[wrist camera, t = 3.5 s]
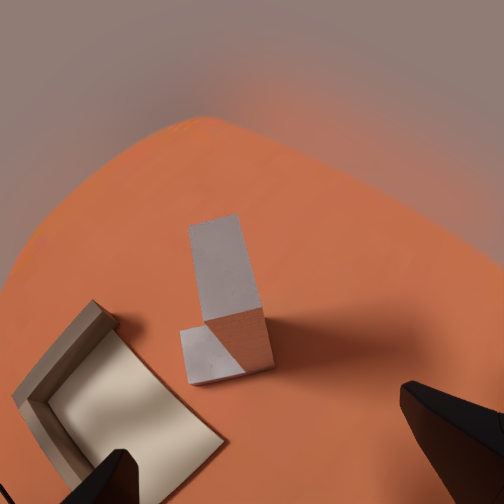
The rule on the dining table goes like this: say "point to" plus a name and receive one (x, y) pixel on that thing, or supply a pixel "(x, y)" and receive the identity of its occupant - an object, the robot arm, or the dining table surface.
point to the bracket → (225, 307)
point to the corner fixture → (110, 410)
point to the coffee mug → (6, 495)
